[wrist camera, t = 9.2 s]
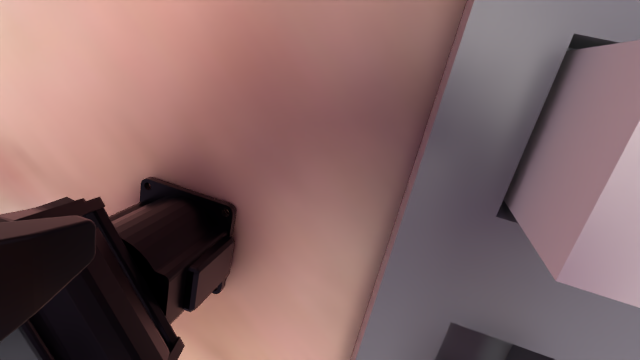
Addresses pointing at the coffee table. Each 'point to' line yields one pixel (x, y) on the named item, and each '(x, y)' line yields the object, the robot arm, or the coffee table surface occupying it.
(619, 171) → the pale pink plug
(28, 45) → the coffee table surface
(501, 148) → the header
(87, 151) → the coffee table surface
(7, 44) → the coffee table surface
